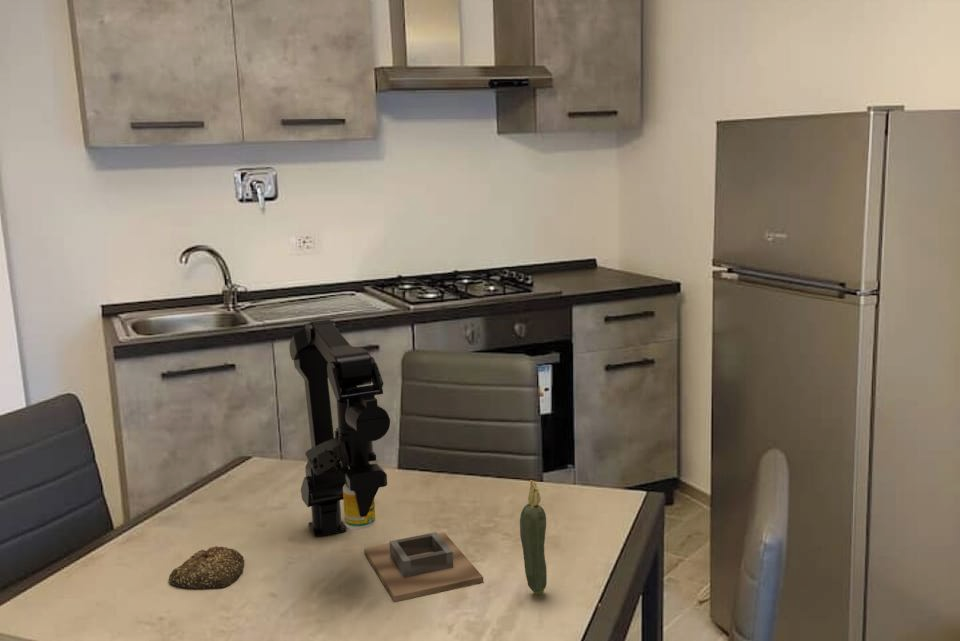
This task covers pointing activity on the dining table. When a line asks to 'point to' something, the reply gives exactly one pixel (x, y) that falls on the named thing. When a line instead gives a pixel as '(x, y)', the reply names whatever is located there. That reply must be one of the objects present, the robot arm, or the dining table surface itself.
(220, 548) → the bread roll
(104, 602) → the dining table surface
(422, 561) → the can holder
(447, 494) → the dining table surface
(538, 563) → the vegetable
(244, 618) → the dining table surface
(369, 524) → the supplement bottle
